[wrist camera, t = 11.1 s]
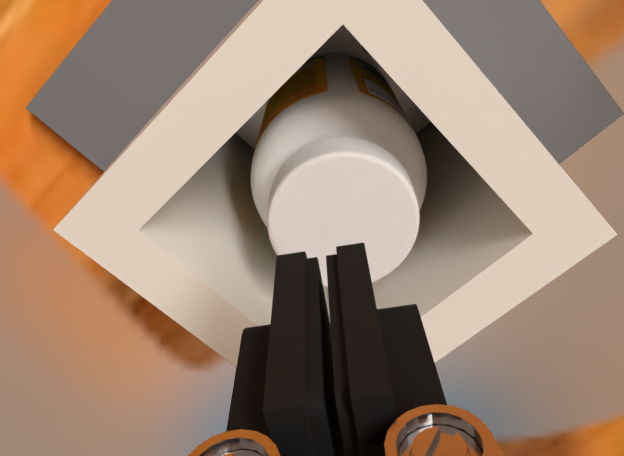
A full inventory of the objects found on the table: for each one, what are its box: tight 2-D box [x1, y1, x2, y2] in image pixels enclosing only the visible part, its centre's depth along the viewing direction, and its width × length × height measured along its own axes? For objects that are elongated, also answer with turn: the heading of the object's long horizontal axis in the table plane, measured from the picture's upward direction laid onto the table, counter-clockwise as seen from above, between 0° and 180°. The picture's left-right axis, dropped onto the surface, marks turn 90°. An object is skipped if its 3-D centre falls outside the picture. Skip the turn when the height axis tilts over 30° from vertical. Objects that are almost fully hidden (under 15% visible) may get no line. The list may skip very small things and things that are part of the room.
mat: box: [26, 0, 624, 172], centre depth 25 cm, size 18×18×1 cm
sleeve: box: [53, 0, 617, 367], centre depth 19 cm, size 10×10×11 cm
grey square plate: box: [236, 25, 430, 150], centre depth 24 cm, size 6×6×1 cm
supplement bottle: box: [251, 54, 427, 287], centre depth 19 cm, size 5×5×10 cm
